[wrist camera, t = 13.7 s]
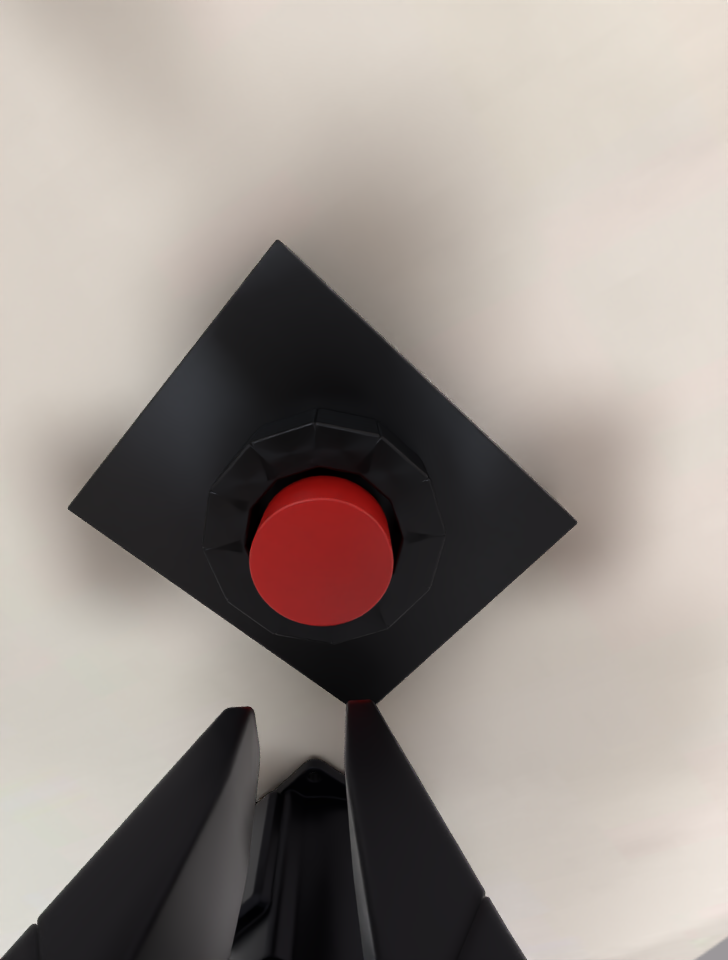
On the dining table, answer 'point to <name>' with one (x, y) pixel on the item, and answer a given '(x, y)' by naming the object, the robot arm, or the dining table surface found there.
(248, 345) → the control block
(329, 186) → the dining table surface
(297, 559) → the button
